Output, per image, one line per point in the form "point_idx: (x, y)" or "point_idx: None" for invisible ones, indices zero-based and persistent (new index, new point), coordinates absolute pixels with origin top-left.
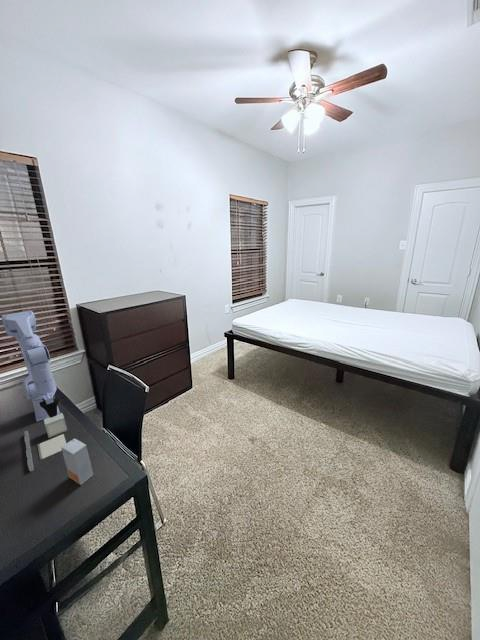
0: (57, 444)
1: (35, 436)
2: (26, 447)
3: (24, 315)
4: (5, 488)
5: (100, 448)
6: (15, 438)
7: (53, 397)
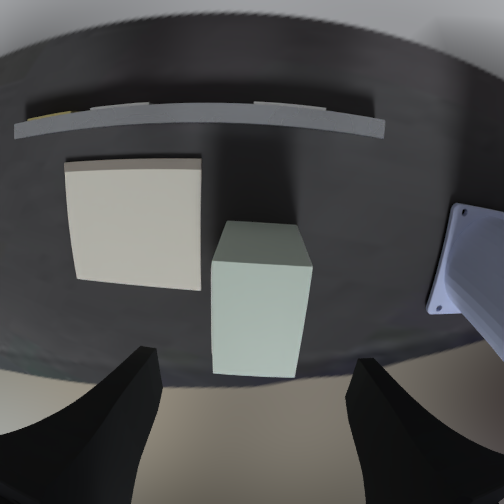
0: (125, 247)
1: (309, 162)
2: (178, 104)
3: None
4: (13, 51)
5: (31, 351)
6: (379, 74)
7: (363, 475)
